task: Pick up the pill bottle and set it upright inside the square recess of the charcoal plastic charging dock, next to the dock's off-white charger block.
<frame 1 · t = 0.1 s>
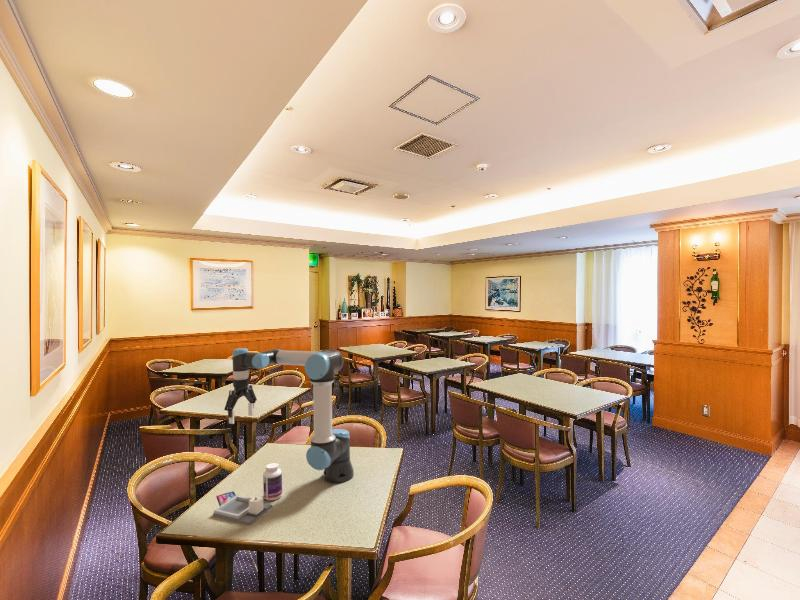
hand: (241, 419, 200), 28 cm above the table, fingers open, 13 cm apart
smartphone: (227, 501, 173), on the table
pill bottle: (273, 497, 175), on the table
dock plate: (243, 511, 163), on the table
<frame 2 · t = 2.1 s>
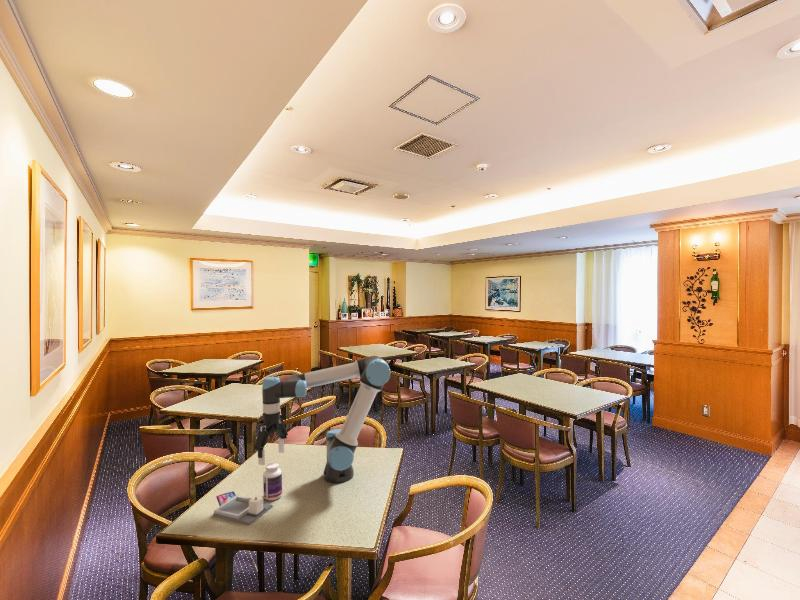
hand: (271, 458, 175), 18 cm above the table, fingers open, 13 cm apart
nothing on the table moved.
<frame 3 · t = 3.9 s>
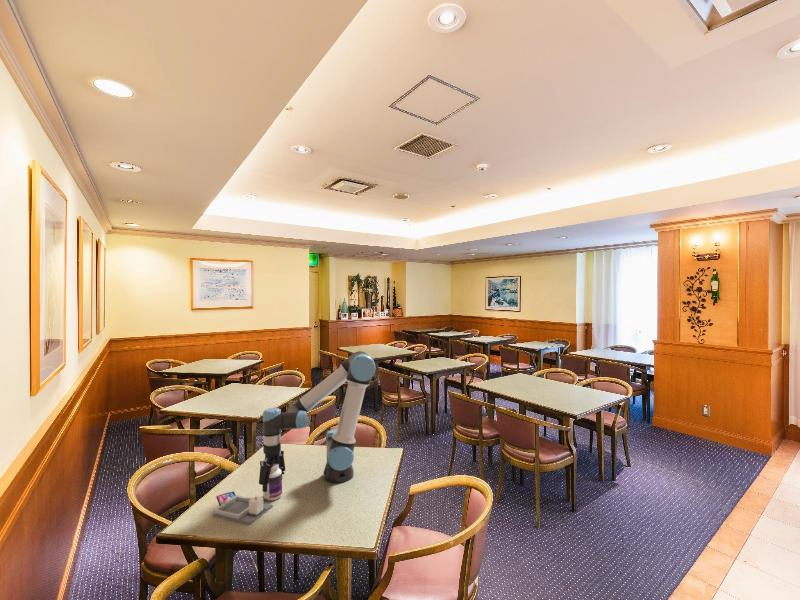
hand: (272, 493, 175), 2 cm above the table, fingers closed on pill bottle, 8 cm apart
pill bottle: (272, 497, 175), on the table, touching gripper
everything else where it was.
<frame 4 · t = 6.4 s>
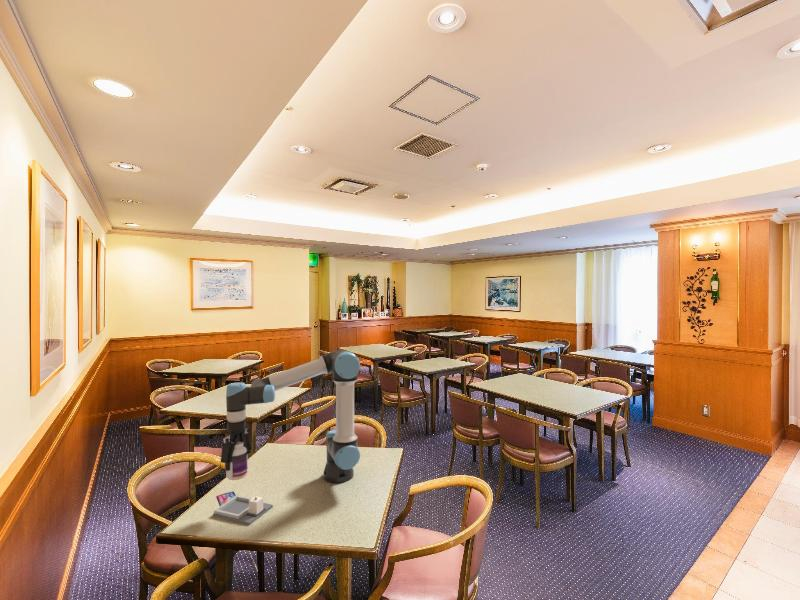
hand: (237, 472, 164), 16 cm above the table, fingers closed on pill bottle, 8 cm apart
pill bottle: (237, 477, 165), point 14 cm above the table, touching gripper
everything else where it was.
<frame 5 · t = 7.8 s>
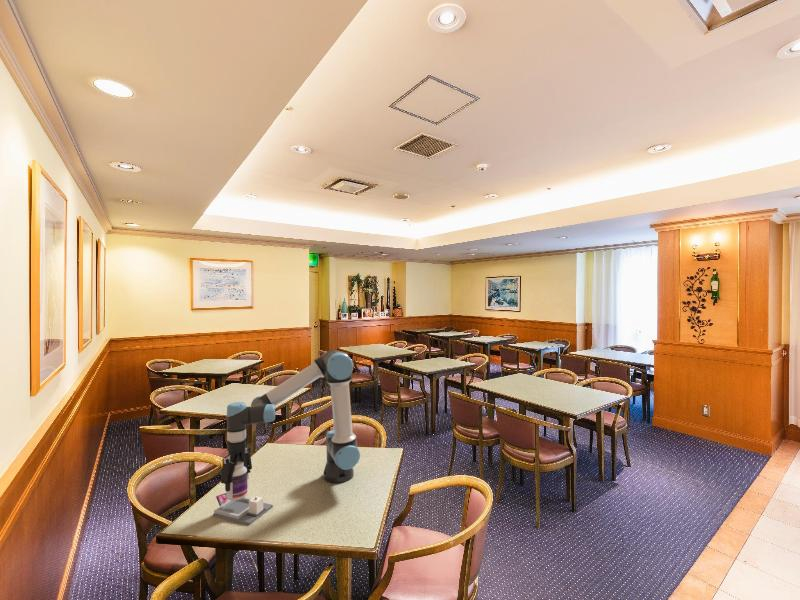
hand: (237, 492, 164), 8 cm above the table, fingers closed on pill bottle, 8 cm apart
pill bottle: (237, 497, 164), point 6 cm above the table, touching gripper
everything else where it was.
when the fingers open (4 cm above the table, at t = 8.9 s): pill bottle drops 1 cm, resting on dock plate.
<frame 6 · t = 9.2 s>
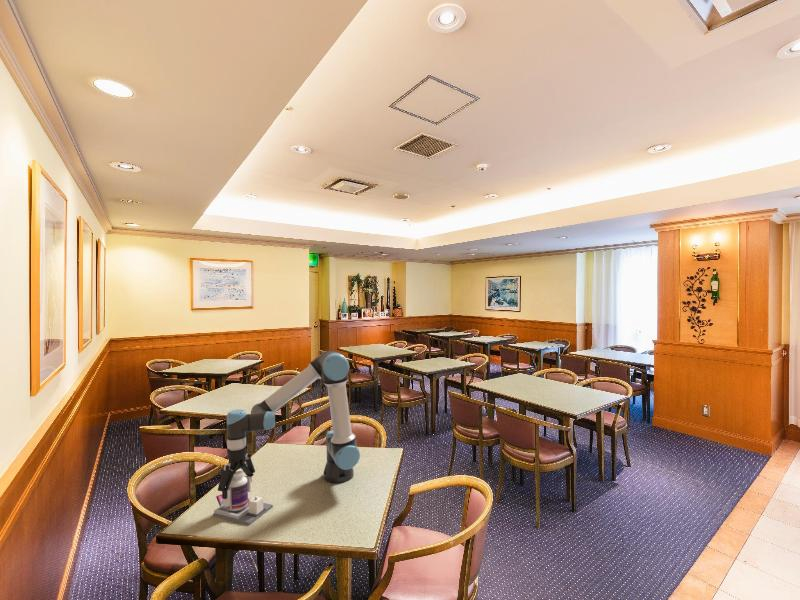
hand: (237, 498, 165), 5 cm above the table, fingers open, 11 cm apart
pill bottle: (237, 508, 165), point 1 cm above the table, touching dock plate
everything else where it was.
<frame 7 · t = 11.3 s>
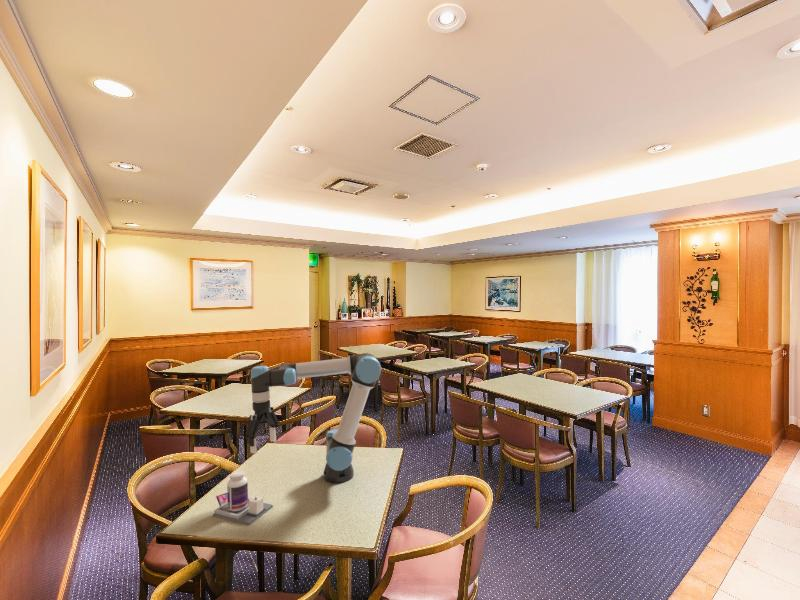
hand: (263, 447, 175), 23 cm above the table, fingers open, 13 cm apart
nothing on the table moved.
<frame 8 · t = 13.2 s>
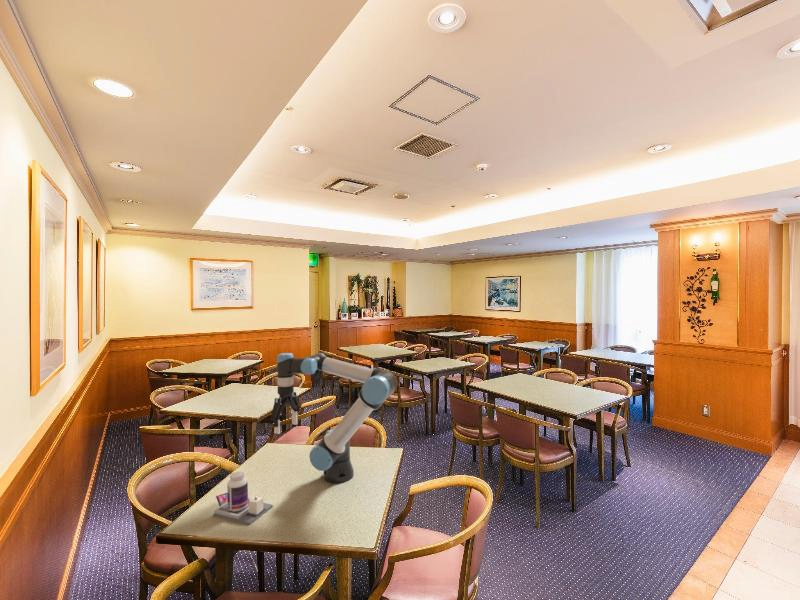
hand: (286, 428, 188), 27 cm above the table, fingers open, 13 cm apart
nothing on the table moved.
at the end: pill bottle inside the target area on the dock plate (0.1 cm from its centre), point 0.8 cm above the dock plate's base; pill bottle tilted 0°; the gripper is holding nothing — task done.
